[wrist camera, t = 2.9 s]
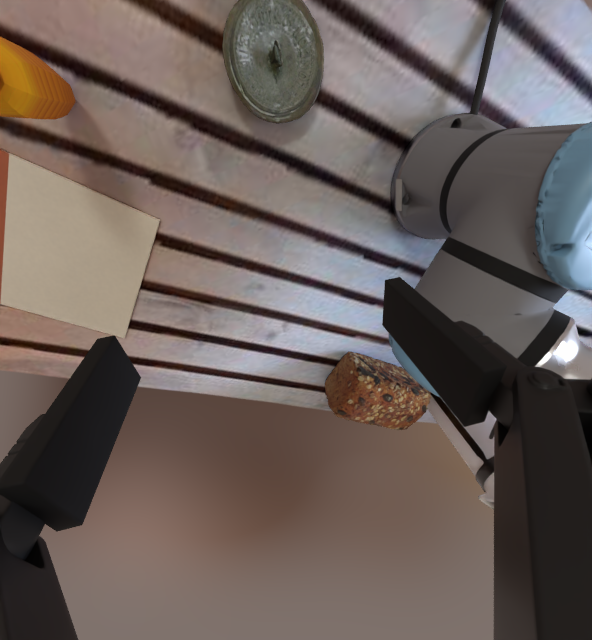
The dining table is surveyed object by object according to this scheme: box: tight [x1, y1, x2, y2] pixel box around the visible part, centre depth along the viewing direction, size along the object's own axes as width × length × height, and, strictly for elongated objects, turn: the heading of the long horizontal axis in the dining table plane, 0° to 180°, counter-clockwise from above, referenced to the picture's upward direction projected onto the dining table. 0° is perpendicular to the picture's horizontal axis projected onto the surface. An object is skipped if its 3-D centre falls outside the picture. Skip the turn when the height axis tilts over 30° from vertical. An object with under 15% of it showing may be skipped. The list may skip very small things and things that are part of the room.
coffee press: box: [427, 393, 496, 509], centre depth 51 cm, size 17×16×30 cm
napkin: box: [0, 149, 160, 338], centre depth 36 cm, size 20×18×1 cm
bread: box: [325, 352, 431, 430], centre depth 54 cm, size 19×11×10 cm, turn 61°
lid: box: [222, 0, 324, 123], centre depth 28 cm, size 11×10×5 cm
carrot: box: [0, 37, 76, 119], centre depth 22 cm, size 5×5×15 cm
